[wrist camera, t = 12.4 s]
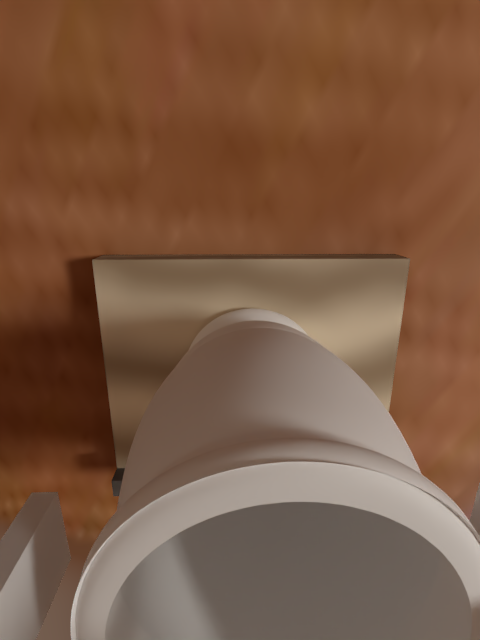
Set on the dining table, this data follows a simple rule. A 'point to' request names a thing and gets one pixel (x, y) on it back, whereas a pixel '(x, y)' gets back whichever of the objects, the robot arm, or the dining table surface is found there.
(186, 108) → the dining table surface
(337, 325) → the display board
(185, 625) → the jar
